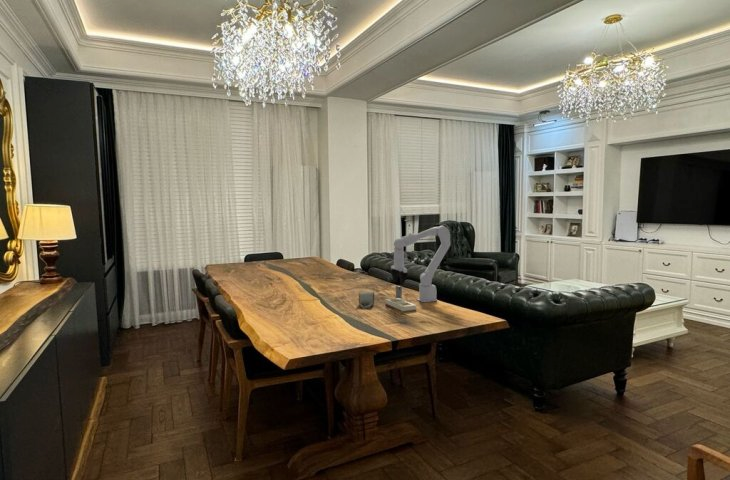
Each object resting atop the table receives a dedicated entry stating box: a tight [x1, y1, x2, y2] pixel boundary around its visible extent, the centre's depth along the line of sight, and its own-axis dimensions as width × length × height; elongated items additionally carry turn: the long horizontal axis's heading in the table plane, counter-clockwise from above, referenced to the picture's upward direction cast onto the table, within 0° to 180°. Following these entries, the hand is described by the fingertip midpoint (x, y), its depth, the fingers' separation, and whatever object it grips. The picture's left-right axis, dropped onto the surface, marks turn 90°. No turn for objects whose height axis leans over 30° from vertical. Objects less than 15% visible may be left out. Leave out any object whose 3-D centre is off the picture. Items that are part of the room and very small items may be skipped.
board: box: [385, 297, 417, 314], centre depth 226 cm, size 8×18×3 cm, turn 27°
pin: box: [395, 285, 403, 300], centre depth 243 cm, size 4×4×8 cm
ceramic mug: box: [358, 291, 375, 309], centre depth 230 cm, size 11×8×8 cm
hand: (398, 283), depth 242 cm, fingers open, 7 cm apart
